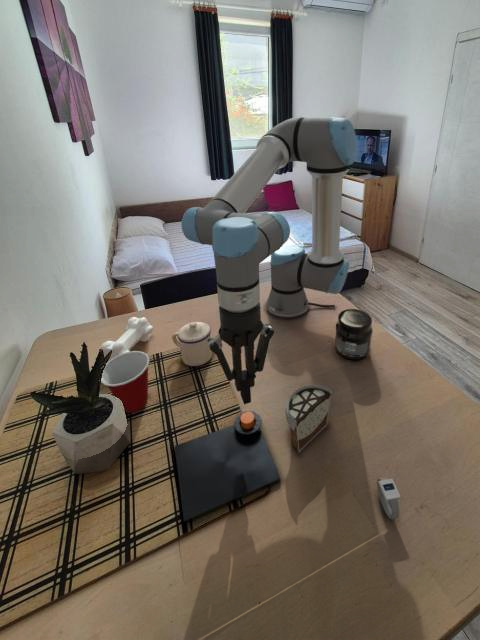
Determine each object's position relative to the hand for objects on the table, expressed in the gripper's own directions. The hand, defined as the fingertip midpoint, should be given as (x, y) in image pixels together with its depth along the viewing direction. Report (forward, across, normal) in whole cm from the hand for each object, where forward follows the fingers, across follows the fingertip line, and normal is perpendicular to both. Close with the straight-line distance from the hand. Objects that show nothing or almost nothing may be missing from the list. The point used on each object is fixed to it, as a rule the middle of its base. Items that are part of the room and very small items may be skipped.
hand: (245, 398), depth 69 cm
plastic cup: (+10, -23, +19) cm, 32 cm away
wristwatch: (+10, +19, -24) cm, 32 cm away
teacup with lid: (+10, -7, +31) cm, 33 cm away
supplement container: (+10, +37, +14) cm, 40 cm away
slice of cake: (+10, +12, -4) cm, 16 cm away
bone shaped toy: (+10, -24, +40) cm, 48 cm away
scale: (+10, -6, -5) cm, 13 cm away
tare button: (+7, 0, 0) cm, 7 cm away
